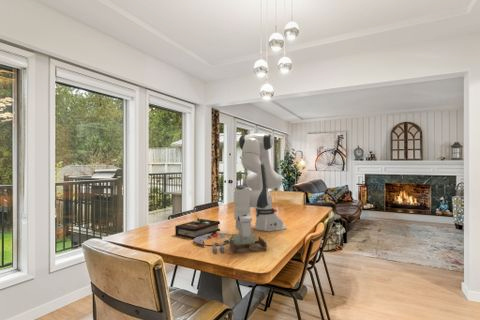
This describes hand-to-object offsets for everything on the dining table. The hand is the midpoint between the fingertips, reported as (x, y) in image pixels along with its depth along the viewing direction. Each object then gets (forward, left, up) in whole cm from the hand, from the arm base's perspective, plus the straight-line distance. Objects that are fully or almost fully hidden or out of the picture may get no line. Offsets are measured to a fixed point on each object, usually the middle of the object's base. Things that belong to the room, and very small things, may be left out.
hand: (242, 241), depth 147 cm
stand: (+14, +3, -4) cm, 15 cm away
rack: (-2, +3, -4) cm, 6 cm away
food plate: (+13, -19, -5) cm, 23 cm away
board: (-1, 0, -3) cm, 3 cm away
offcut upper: (-6, +5, -2) cm, 8 cm away
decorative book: (+21, -41, -5) cm, 47 cm away
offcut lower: (-6, +5, -3) cm, 9 cm away
